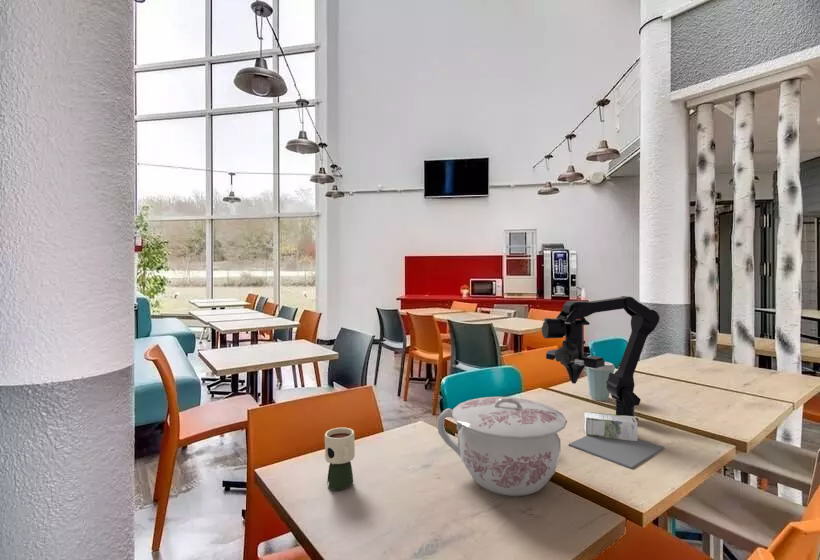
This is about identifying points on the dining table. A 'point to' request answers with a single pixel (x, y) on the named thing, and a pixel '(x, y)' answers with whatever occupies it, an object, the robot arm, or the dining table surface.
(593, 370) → the disposable coffee cup
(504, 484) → the chamber pot
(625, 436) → the syrup box
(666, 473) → the dining table surface
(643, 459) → the mat
